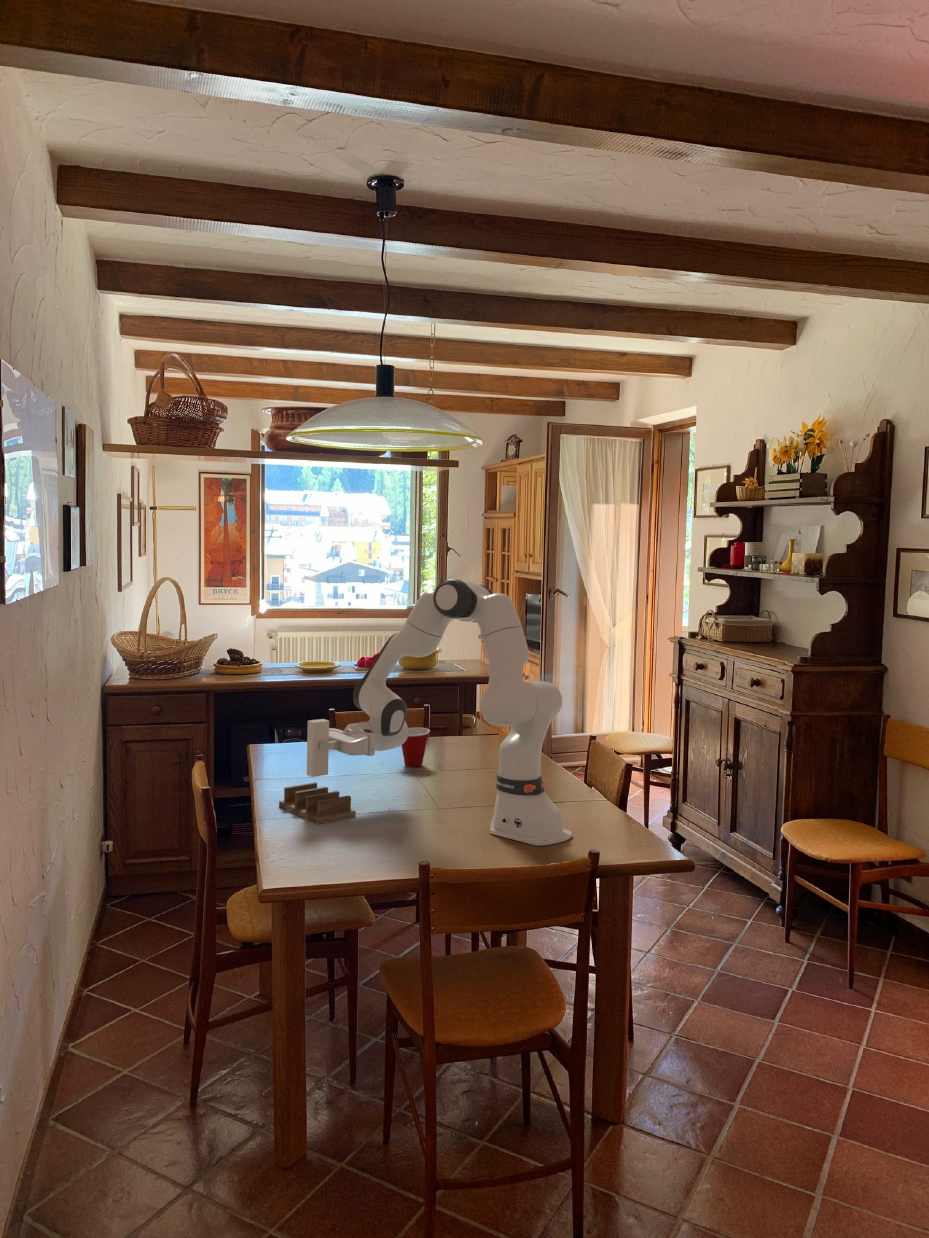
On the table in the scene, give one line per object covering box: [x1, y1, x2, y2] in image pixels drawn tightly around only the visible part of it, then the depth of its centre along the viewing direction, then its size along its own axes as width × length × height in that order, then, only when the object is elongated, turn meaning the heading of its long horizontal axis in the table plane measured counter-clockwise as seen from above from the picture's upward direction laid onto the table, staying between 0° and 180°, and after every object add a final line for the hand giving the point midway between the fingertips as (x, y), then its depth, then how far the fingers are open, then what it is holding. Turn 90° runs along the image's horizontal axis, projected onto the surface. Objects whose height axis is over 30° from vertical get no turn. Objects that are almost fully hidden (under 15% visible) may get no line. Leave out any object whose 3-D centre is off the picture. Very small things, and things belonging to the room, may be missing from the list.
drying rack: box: [278, 781, 357, 824], centre depth 254 cm, size 20×12×6 cm, turn 42°
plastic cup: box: [401, 727, 431, 768], centre depth 311 cm, size 11×11×12 cm
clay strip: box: [306, 718, 330, 778], centre depth 253 cm, size 3×5×15 cm, turn 131°
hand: (315, 744), depth 252 cm, fingers closed on clay strip, 3 cm apart
